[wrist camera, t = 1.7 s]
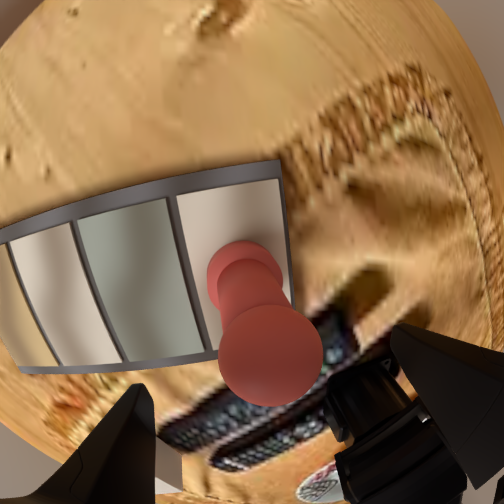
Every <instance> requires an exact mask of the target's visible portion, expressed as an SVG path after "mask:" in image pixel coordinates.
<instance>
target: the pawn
mask: <svg viewBox="0 0 504 504" xmlns="http://www.w3.org/2000/svg"><path fill="white" fill-rule="evenodd" d="M282 287H283V275H282V272H281V269H280V267H279V265H278V264H277V262H276V261H275V259H274V258H273V257H272V255H271V254H270V252H269V251H268V250H267V249H266V248H264V247H263V246H262V245H260V244H258V243H255V242H252V241H243V240H241V241H235V242H231V243H228V244H226V245H224V246H223V247H221V248H220V249H219V250H218V251H217V252H216V253H215V254H214V255H213V256H212V258H211V259H210V262H209V264H208V267H207V290H208V295H209V298H210V300H211V302H212V303H213V305H214V306H215V307H216V308H217V309H218V310H219V311H220V316H221V323H222V330H223V336H222V338H221V341H220V344H219V349H218V363H219V368H220V372H221V374H222V377H223V379H224V381H225V382H226V384H227V385H228V387H229V388H230V389H231V390H232V391H233V392H234V393H235V394H236V395H237V396H239V397H240V398H242V399H243V400H245V401H247V402H250V403H252V404H255V405H259V406H280V405H285V404H288V403H290V402H293V401H295V400H297V399H298V398H300V397H301V396H303V395H304V394H305V393H306V392H307V391H308V390H309V389H310V388H311V387H312V386H313V385H314V383H315V381H316V380H317V378H318V376H319V374H320V371H321V368H322V363H323V347H322V343H321V339H320V336H319V334H318V332H317V330H316V329H315V327H314V326H313V325H312V323H311V322H310V321H309V320H308V319H307V318H306V317H305V316H303V315H302V314H300V313H299V312H297V311H295V310H294V309H293V307H292V306H291V304H290V302H289V301H288V299H287V297H286V296H285V294H284V292H283V290H282Z"/></svg>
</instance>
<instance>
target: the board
mask: <svg viewBox="0 0 504 504" xmlns="http://www.w3.org/2000/svg"><path fill="white" fill-rule="evenodd" d="M241 240H243V241H252V242H255V243H258V244H260V245H262V246H263V247H264V248H266V249H267V250H268V251H269V252H270V254H271V255H272V257H273V258H274V259H275V261H276V262H277V264H278V265H279V267H280V269H281V272H282V275H283V287H282V290H283V292H284V294H285V296H286V297H287V299H288V301H289V302H290V304H291V306H292V307H293V309H294V310H295V299H294V286H293V275H292V263H291V253H290V242H289V232H288V223H287V213H286V204H285V196H284V187H283V179H282V171H281V163H280V160H269V161H261V162H254V163H246V164H240V165H233V166H227V167H221V168H215V169H209V170H204V171H198V172H193V173H188V174H183V175H178V176H173V177H169V178H164V179H160V180H155V181H151V182H146V183H142V184H138V185H134V186H130V187H126V188H122V189H118V190H115V191H111V192H107V193H104V194H100V195H97V196H93V197H90V198H86V199H83V200H80V201H77V202H73V203H70V204H67V205H64V206H61V207H58V208H55V209H52V210H49V211H46V212H43V213H41V214H38V215H35V216H32V217H30V218H27V219H24V220H22V221H19V222H16V223H14V224H11V225H9V226H6V227H4V228H2V229H0V337H1V339H2V341H3V343H4V345H5V346H6V348H7V350H8V352H9V353H10V355H11V357H12V358H13V360H14V362H15V363H16V365H17V366H18V368H19V370H20V371H21V373H28V374H87V373H107V372H121V371H133V370H144V369H153V368H162V367H170V366H177V365H184V364H191V363H198V362H204V361H210V360H216V359H218V349H219V344H220V341H221V338H222V336H223V330H222V323H221V316H220V311H219V310H218V309H217V308H216V307H215V306H214V305H213V303H212V302H211V300H210V298H209V295H208V290H207V267H208V264H209V262H210V259H211V258H212V256H213V255H214V254H215V253H216V252H217V251H218V250H219V249H220V248H221V247H223V246H224V245H226V244H228V243H231V242H235V241H241Z"/></svg>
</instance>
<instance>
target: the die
mask: <svg viewBox="0 0 504 504" xmlns="http://www.w3.org/2000/svg"><path fill="white" fill-rule="evenodd" d="M175 492H183V483H182V455H181V454H179V453H178V452H176V451H175V450H174V449H172V448H171V447H170V446H168V445H167V444H166V443H164V442H163V441H162V440H160V439H159V438H158V437H157V436H156V459H155V494H165V493H175Z"/></svg>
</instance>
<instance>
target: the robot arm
mask: <svg viewBox="0 0 504 504" xmlns="http://www.w3.org/2000/svg"><path fill="white" fill-rule="evenodd" d="M390 346H391V349H392V351H393V353H394V354H395V356H396V358H397V360H398V362H399V364H400V366H401V368H402V369H403V371H404V373H405V375H406V377H407V378H408V380H409V382H410V383H411V385H412V386H413V388H414V389H415V391H416V392H417V394H418V396H417V397H416V398H415V400H414V401H413V402H412V400H411V399H410V398H409V396H408V395H407V394H406V393H405V391H404V390H403V389H402V388H401V386H400V385H399V384H398V383H397V381H396V380H395V379H394V378H393V376H392V375H391V374H390V373H389V367H390V363H391V359H390V358H389V357H388V356H386V357H383V358H381V359H378V360H376V361H373V362H371V363H368V364H365V365H363V366H360V367H357V368H354V369H352V370H349V371H346V372H343V373H340V374H337V375H334V376H332V377H330V378H329V379H328V381H327V395H326V396H325V398H324V408H323V413H324V415H325V417H326V419H327V421H328V424H329V426H330V428H331V430H332V432H333V434H334V436H335V438H336V440H337V442H343V441H344V443H345V445H346V447H347V449H345V450H344V451H342V452H338V453H337V454H335V455H334V457H335V460H336V462H335V464H336V468H337V471H338V475H339V479H340V483H341V487H342V490H343V495H344V499H345V501H347V502H350V503H351V504H462V503H461V501H462V496H463V492H464V491H465V490H466V489H467V476H468V478H469V479H470V481H471V483H472V485H473V487H474V489H475V490H477V489H478V488H479V487H481V486H482V485H483V484H485V483H486V482H487V481H488V480H489V479H490V478H492V477H493V476H494V475H495V474H496V473H497V472H499V471H500V470H501V469H502V468H503V467H504V353H502V352H498V351H494V350H490V349H487V348H484V347H479V346H477V345H474V344H470V343H467V342H464V341H461V340H457V339H454V338H451V337H448V336H445V335H441V334H438V333H435V332H432V331H429V330H426V329H423V328H419V327H416V326H413V325H410V324H407V323H404V322H402V323H399V324H396V325H394V327H393V329H392V334H391V340H390ZM425 418H427V420H426V421H425V422H423V423H422V421H423V420H424V419H425ZM455 453H456V454H455ZM155 459H156V432H155V418H154V402H153V399H152V397H151V395H150V393H149V392H148V390H147V388H146V386H145V385H144V384H143V383H138V384H132V385H131V386H130V387H129V388H128V389H127V391H126V392H125V393H124V394H123V395H122V396H121V398H120V399H119V400H118V401H117V402H116V403H115V405H114V406H113V407H112V408H111V409H110V410H109V412H108V413H107V414H106V415H105V416H104V418H103V419H102V420H101V421H100V422H99V423H98V425H97V426H96V427H95V428H94V429H93V430H92V432H91V433H90V434H89V435H88V436H87V438H86V439H85V440H84V441H83V442H82V443H81V445H80V446H79V447H78V449H76V450H75V452H74V453H73V454H72V455H71V456H70V457H69V459H68V460H67V461H66V462H65V463H64V464H63V465H62V466H61V467H60V468H59V469H58V470H57V471H56V472H55V473H54V474H53V475H52V476H51V477H50V478H49V479H48V480H47V481H46V482H44V483H43V484H42V485H41V486H40V487H39V488H38V489H37V490H36V491H34V492H33V493H31V494H29V495H27V496H24V497H16V498H6V499H0V504H155ZM466 474H467V476H466ZM493 504H504V475H503V476H502V477H501V478H500V479H499V480H498V483H497V488H496V493H495V497H494V502H493Z"/></svg>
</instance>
